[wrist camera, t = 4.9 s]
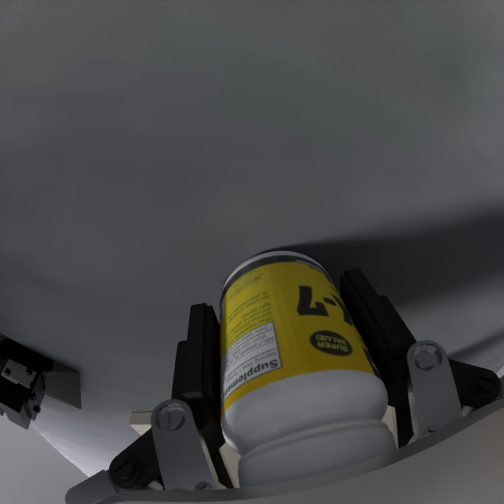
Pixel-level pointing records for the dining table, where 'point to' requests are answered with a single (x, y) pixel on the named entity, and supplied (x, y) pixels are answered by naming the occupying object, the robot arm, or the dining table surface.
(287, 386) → the supplement bottle
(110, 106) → the dining table surface
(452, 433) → the robot arm
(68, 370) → the black phone stand
